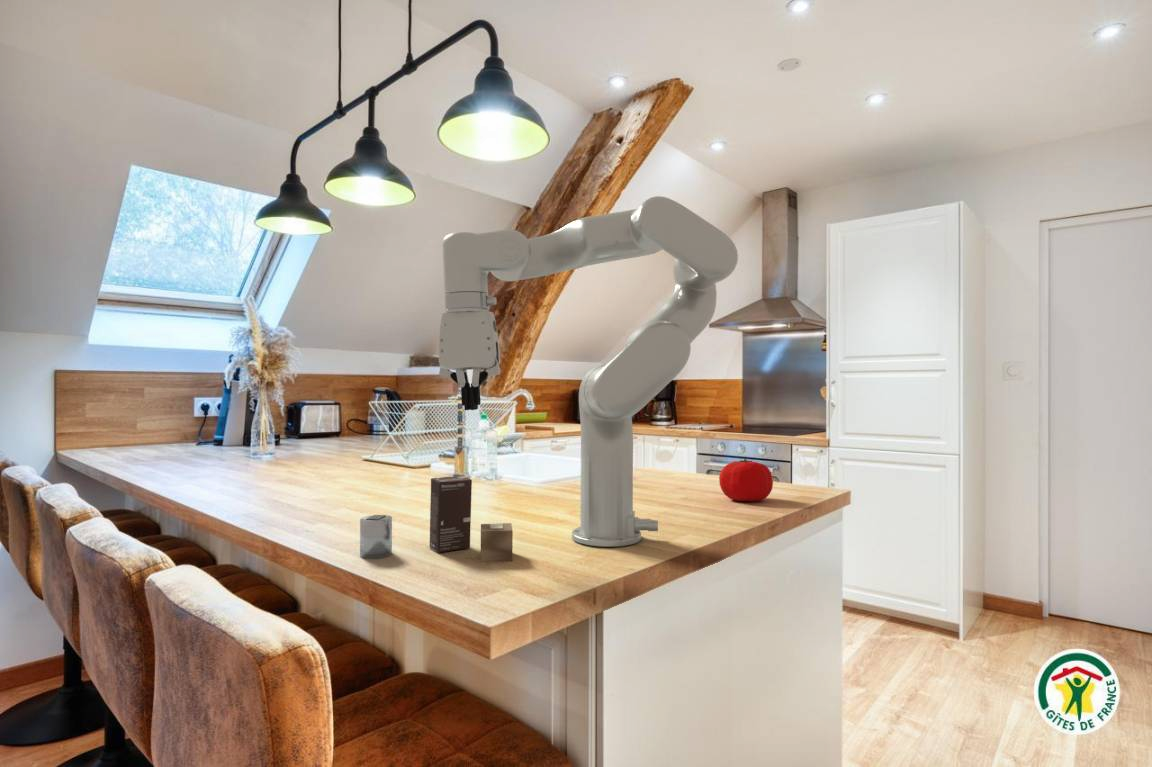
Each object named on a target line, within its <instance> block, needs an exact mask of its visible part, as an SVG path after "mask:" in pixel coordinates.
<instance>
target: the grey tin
mask: <svg viewBox="0 0 1152 767" xmlns="http://www.w3.org/2000/svg"><path fill="white" fill-rule="evenodd" d="M392 554H393V517H392V516H391V515H387V514H373V515H372V514H371V515H367V516H363V517H360V518H359V558H361V559H365V560H376V559H378V560H379V559H384V558H388V557H390V556H392Z"/></svg>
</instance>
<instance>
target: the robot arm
mask: <svg viewBox="0 0 1152 767" xmlns="http://www.w3.org/2000/svg"><path fill="white" fill-rule="evenodd" d="M662 250H663V251H664V252H666V253H667V254H669V255H670V256H671V257H673V258H675V259H674V262H673V278H674V279H673V280H674V290H673V294H672V295H671V297H670V298H669V299H668V301H666V303H664V304H663V305H662V307H661V308H660V309H659V310H658V311H657V312H655V313H654V314H653V315H652V316H651V317H650V318H649V319H648V320H647V321H646V322H645V323H643V324H642V325H641V326H639V327H638V328H637V329H635V331H633V332H632V333H631V334H630V335H629V337H628V339H627V340H626V342H625V344H624V348H623V349H622V350H621V351H620V352H619V353H618V354H616V355H615V356H614V357H613V358H612V359H611V360H610V361H609V362H608V363H606V364H601V365H598V366H595V367H593V368H591V369H590V370H589V371H588V372H587V373H585V375H584V377H582V381H581V382H580V386H579V390H578V406H579V408H578V409H579V419H580V527H579V526H578V527H576V528H574V529H573V530H572V531H571V539H572V540H573V541H575V542H576V543H579V544H581V545H587V546H593V547H603V548H611V547H625V546H626V547H627V546H630V545H635V544H637V543H639V542H640V541H641V539H642V532H641V531H648V532H659V530H658V529H659V521H658V520H657V519H655V520H652V519H651V518H639V517H638V516H635V515H636V514H635V513H636V511H635V510H634V509H633V508H634V507H633V506H634V505H633V504H634V499H633V498H634V491H633V490H634V485H633V484H634V430H633V419H632V416H634V415H636V414H637V413H638V412H640V411H641V410H642V409H644V408H645V407H646V406H647V405H648V404H649V403H650V402H651V401H652V400H653V399H654V398H655V397H656V396H657V395H659V393H661V391H662V390H664V389H665V387H667V385H669V384H670V382H672V381H673V380H674V379H675V378H676V377H677V375H679V374H680V373H682V372H681V371H682V370H684V368H685V366H686V365H687V363H688V361H689V358H690V355H691V344H692V343H693V342H694V341H695V339H696V338H697V337H698V336H699V335H700V334H701V333H702V332H703V331H704V330H705V329H706V328H707V327H708V326H709V324H710V322H711V321H712V319H713V316H714V314H715V312H716V306H717V286H716V284H717V283H718V282H722V281H724V280H725V279H727V278H728V277H729V276H731V275H732V274H733V272H734V271H735V269H736V267H737V264H738V260H739V255H738V254H739V253H738V249H737V246H736V244H735V243H734V241H733V240H732V238H730V236H728V235H727V234H726V233H725V232H723V231H722V230H721V229H719V228H718V227H716V226H714V225H713V224H712V223H710V222H709V221H707V220H705V219H704V218H702V217H701V216H699V215H698V214H697V213H695V212H693V211H692V210H691V209H689V208H687V207H686V206H684V205H682V203H679V202H677V201H675V200H673V199H671V198H669V197H665V196H659V195H657V196H652V197H648V199H645V201H643V202H642V203H640V205H639V206H638V207H637V208H634V209H629V210H628V209H627V210H623V211H617V212H611V213H604V214H598V215H592V216H585V217H582V218H578V219H576V220H574V221H571V222H570V223H568V224H566V225H564V226H563V227H561V228H560V229H558V230H556V231H553V232H551V233H548V234H545V235H541V236H536V237H532V238H527V237H526V236H525V235H524V234H523V233H522V232H520V231H519V230H515V229H499V230H493V231H487V232H480V233H479V232H477V233H476V232H475V233H474V232H469V231H463V232H462V231H461V232H452V233H450V234H447V235H446V236H445V237H444V238H443V240H442V261H443V284H444V286H443V287H444V290H443V291H444V307H445V309H444V310H445V312H444V313H441V319H440V326H439V335H438V364H439V367H440V368H439V371H438V373H439V377H442V378H447V379H450V380H451V379H452V381H454V382H455V384H457V385H458V387H459V388H460V395H461V396H460V397H461V399H460V400H461V405H462V406H464V410H465V411H475V410H479V406H481V403H482V402H481V386H482V385H483V383H485V382H486V380H487V379H488V378H491V377H493V376H494V377H495V376H496V375H497V376H498V375H500V374H501V368H500V364H501V352H500V342H499V334H498V328H497V320H496V316H495V314H494V312H493V311H490V310H491V306H495V305H496V306H497V303H498V302H497V297H495V296H493V297H492V296H490V294H489V288H488V287H489V286H488V285H489V284H488V273H489V272H490V273H491V274H492V276H494V277H495V278H497V279H498V280H499V281H504V282H517V281H524V280H529V279H534V278H540V277H545V276H549V275H553V274H554V275H555V274H558V273H564V272H566V271H571V270H572V271H573V270H576V269H582V268H585V267H588V266H593V265H598V264H604V263H605V264H606V263H609V262H615V261H622V260H628V259H635V258H639V257H645V256H650V255H654V254H656V253H659V252H660V251H662ZM485 369H486V370H485ZM467 370H472V377H471V383H470V381H469V375H468V371H467Z"/></svg>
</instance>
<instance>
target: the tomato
mask: <svg viewBox="0 0 1152 767" xmlns="http://www.w3.org/2000/svg"><path fill="white" fill-rule="evenodd" d="M756 460H758V459H753V460H747V459H746V458H745V459H743V460H735V461H733V460H732V461H731V462H729V463H728V464H726V465H725V466H723V468H722V469H721V470H720V473H719V476H718V479H719V487H720V489H721V491H722V492H723V494H724V496H726V497H727V498H728V499H730V500H734V501H738V502H761V501H764V500H765V499H767V498H768V496H769V495H770V494H771V492H772V490H773V487H774V486H773V485H774V481H773V475H772V471H771V470H770V468H769V467H768V466H767V465H765V464H763V463H760V462H758V461H756Z"/></svg>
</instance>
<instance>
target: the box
mask: <svg viewBox="0 0 1152 767" xmlns="http://www.w3.org/2000/svg"><path fill="white" fill-rule="evenodd" d="M472 480H473V479H471V478H469V477H467V476H464V475H457V476H455V475H454V476H443V477H442V476H441V477H432V478H430V506H429V507H430V508H429V509H430V510H429V511H430V512H429V514H430V515H429V516H430V517H429V521H430V522H429V548H430V550H432V551H434V552H436V553H438V554H439V553H443V552H444V553H445V552H451V551H456V550H457V551H458V550H464V549H470V548H471V523H472V522H471V521H472V519H471V518H472V487H473V486H472V485H473V481H472Z"/></svg>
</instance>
